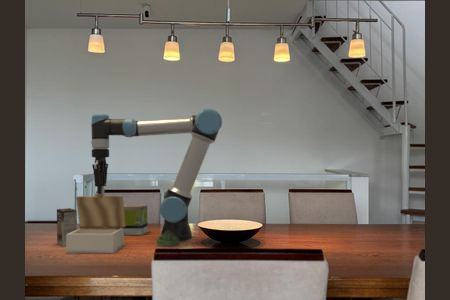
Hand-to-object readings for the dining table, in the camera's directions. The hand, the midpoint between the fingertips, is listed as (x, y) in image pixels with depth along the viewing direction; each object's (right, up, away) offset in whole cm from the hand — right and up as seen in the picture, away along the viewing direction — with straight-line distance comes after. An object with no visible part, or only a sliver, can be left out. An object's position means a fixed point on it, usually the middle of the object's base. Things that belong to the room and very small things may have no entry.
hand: (100, 200), depth 173 cm
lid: (0, -5, -2) cm, 6 cm away
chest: (0, -20, -6) cm, 21 cm away
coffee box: (-17, -21, +5) cm, 28 cm away
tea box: (+7, -21, +27) cm, 35 cm away
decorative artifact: (+30, -21, +2) cm, 36 cm away
